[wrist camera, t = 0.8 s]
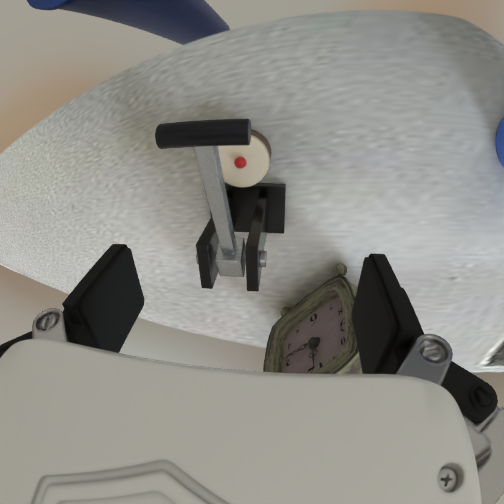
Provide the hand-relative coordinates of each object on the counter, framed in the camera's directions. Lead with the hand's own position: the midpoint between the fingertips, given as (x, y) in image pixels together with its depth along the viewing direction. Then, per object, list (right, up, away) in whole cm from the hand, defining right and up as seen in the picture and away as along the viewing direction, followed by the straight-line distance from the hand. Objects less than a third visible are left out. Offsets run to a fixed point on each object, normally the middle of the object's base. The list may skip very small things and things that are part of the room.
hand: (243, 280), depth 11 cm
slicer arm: (-2, +5, +10) cm, 11 cm away
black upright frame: (0, +7, +25) cm, 26 cm away
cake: (0, +13, +21) cm, 25 cm away
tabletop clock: (+11, -6, +31) cm, 33 cm away
